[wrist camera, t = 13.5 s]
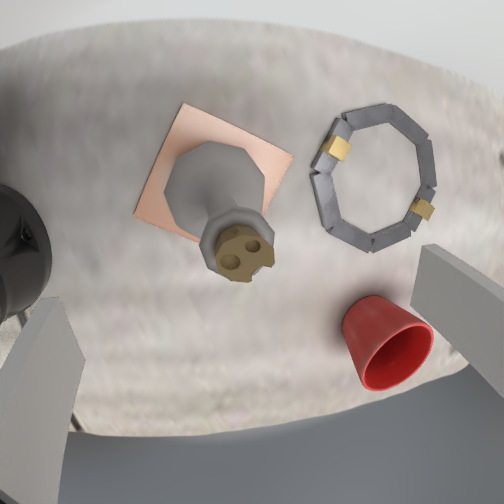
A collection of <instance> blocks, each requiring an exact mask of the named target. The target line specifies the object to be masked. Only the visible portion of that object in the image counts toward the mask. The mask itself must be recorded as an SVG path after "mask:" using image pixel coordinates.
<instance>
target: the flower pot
mask: <svg viewBox="0 0 504 504" xmlns="http://www.w3.org/2000/svg"><path fill="white" fill-rule="evenodd" d="M342 331H343V334H344V337H345V340H346V343H347V346H348V349H349V352H350V354H351V357H352V360H353V363H354V365H355V368H356V370H357V373H358V375H359V378H360V380H361V383H362V385H363V386H364V387H365V388H366V389H368V390H370V391H383V390H387V389H390V388H392V387H395V386H397V385H399V384H400V383H402V382H404V381H405V380H406V379H408V378H409V377H410V376H412V375H413V374H414V373H415V372H416V371H417V370H418V369H419V368H420V367H421V365H422V364H423V363H424V361H425V360H426V358H427V356H428V355H429V353H430V351H431V348H432V345H433V339H434V335H433V331H432V329H431V327H430V326H429V325H428V324H426V323H425V322H424V321H422V320H421V319H419V318H417V317H416V316H414V315H412V314H411V313H409V312H407V311H406V310H404V309H402V308H401V307H399V306H397V305H395V304H393V303H392V302H390V301H388V300H386V299H384V298H382V297H380V296H368V297H365V298H363V299H361V300H359V301H358V302H356V303H355V304H354V305H353V306H352V307H351V308H350V309H349V310H348V312H347V313H346V315H345V317H344V321H343V324H342Z"/></svg>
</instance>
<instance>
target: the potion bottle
mask: <svg viewBox="0 0 504 504" xmlns="http://www.w3.org/2000/svg"><path fill="white" fill-rule="evenodd" d="M264 187H265V176H264V174H263V173H262V172H261V170H260V169H259V167H258V166H257V165H256V163H255V162H254V161H253V159H252V158H251V157H250V155H249V154H248V153H247V151H246V150H245V149H244V148H241V147H236V146H231V145H227V144H222V143H217V142H212V141H208V142H206V143H204V144H202V145H200V146H198V147H196V148H194V149H193V150H191V151H189V152H187V153H185V154H184V155H182V156H180V157H178V158H176V160H175V163H174V166H173V168H172V171H171V173H170V176H169V179H168V181H167V184H166V187H165V190H164V195H165V198H166V200H167V203H168V206H169V208H170V211H171V214H172V216H173V219H174V221H175V224H176V225H177V226H178V227H179V228H180V229H182V230H184V231H186V232H188V233H189V234H191V235H193V236H195V237H197V238H199V239H201V240H200V244H199V247H200V250H201V252H202V255H203V257H204V260H205V262H206V265H207V268H208V269H210V270H212V271H214V272H216V273H218V274H220V275H222V276H224V277H226V278H227V279H229V280H230V281H237V282H247V283H248V282H251V281H252V279H251V278H252V275H255V274H256V273H257V272H258V271H259V270H260V269H261V268H262V267H263V266H266V267H272V266H273V265H274V263H275V260H274V248H273V244H274V234H275V232H274V231H273V230H272V228H271V227H270V226H269V225H268V223H267V222H266V221H265V219H264V218H263V217H262V212H263V200H264Z"/></svg>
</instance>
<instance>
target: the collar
mask: <svg viewBox="0 0 504 504" xmlns="http://www.w3.org/2000/svg"><path fill="white" fill-rule="evenodd" d="M342 118H343V119H342ZM342 118H336V120H335V122H334V123H333V125H332V127H331V129H330V131H329V133H328V135H327V137H326V139H325V141H324V143H323V145H322V146H321V148H320V150H319V152H318V154H317V156H316V158H315V160H314V162H313V164H312V166H311V168H313V169H314V170H316V171H318V172H316V173H313V174H310V177H311V181H312V185H313V189H314V193H315V197H316V201H317V205H318V209H319V213H320V217H321V222H322V226H323V227H324V228H325V229H327V230H326V231H327V232H328V233H329V234H331V235H333V236H335V237H337V238H339V239H341V240H343V241H345V242H347V243H349V244H351V245H353V246H355V247H356V248H358V249H360V250H362V251H364V252H366V253H368V252H369V251H371V252H372V253H375V252H377V251H379V250H381V249H384V248H386V247H388V246H390V245H393V244H395V243H397V242H399V241H401V240H404V239H406V238H408V237H410V236H411V230H412V231H414V232H415V231H416V229H417V227H418V226H419V224H420V222H421V220H422V219H424V220H426V221H428V220H429V219H430V217H431V215H432V213H433V211H434V209H435V208H434V207H433V206H432V205H431V204H430V203H431V201H432V199H433V196H434V194H435V192H436V191H434V190H433V189H432V188H433V187H436V186H437V182H436V172H435V163H434V155H433V148H432V141H431V140H429V139H427V138H428V136H429V134H427V133H426V132H425V131H424V130H423V129H422V128H421V127H420V126H419V125H418V124H417V123H416V122H415V121H414V120H412V119H411V118H410V117H409V116H408V115H407V114H406V113H405V112H403V111H402V110H401V109H400V108H399V107H398V106H396V105H391V104H383V105H378V106H373V107H369V108H364V109H360V110H355V111H351V112H347V113H343V114H342ZM387 122H389V123H390V124H392V125H393V126H394V127H395V128H397V129H398V130H399V131H400V132H401V133H402V134H404V135H405V136H406V137H407V138H408V139H409V140H411V141H412V142H413V143H414V144H415V145H416V149H417V155H418V162H419V170H420V178H421V187H420V189H419V191H418V193H417V195H416V197H415V199H414V201H413V203H412V205H411V207H410V209H409V211H408V213H407V214H406V216H405V218H404V220H403V221H402V222H399V223H397V224H395V225H392V226H390V227H388V228H385V229H383V230H380V231H378V232H376V233H373V234H371V235H369V234H367V233H365V232H363V231H361V230H360V229H358V228H356V227H354V226H352V225H351V224H349V223H347V222H345V221H343V220H342V219H341V216H340V211H339V207H338V202H337V198H336V193H335V189H334V184H333V180H332V176H331V173H332V171H333V170H334V168H335V166H336V164H337V162H338V160H339V161H342V162H344V160H345V158H346V156H347V154H348V152H349V151H350V149H351V147H352V145H351V144H350V143H348V141H349V139H350V137H351V135H352V133H353V131H355V130H359V129H363V128H367V127H371V126H375V125H379V124H383V123H387Z"/></svg>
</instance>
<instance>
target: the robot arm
mask: <svg viewBox="0 0 504 504" xmlns="http://www.w3.org/2000/svg"><path fill="white" fill-rule="evenodd" d="M51 264H52V257H51V247H50V242H49V238H48V235H47V232H46V229H45V227H44V225H43V222H42V220H41V219H40V217H39V215H38V214H37V212H36V211H35V209H34V208H33V207H32V205H31V204H30V203H29V202H28V201H27V200H26V199H25V198H24V197H23V196H22V195H20V194H19V193H18V192H16V191H14V190H12V189H10V188H8V187H5V186H0V325H1V323H2V322H3V321H5V320H7V319H8V318H10V317H12V316H14V315H15V314H17V313H18V312H21V311H23V310H25V309H27V308H28V307H30V306H31V305H32V304H33V303H34V302H35V301H36V300H37V299H38V297H39V296H40V294H41V293H42V291H43V290H44V288H45V287H46V285H47V282H48V280H49V277H50V272H51ZM410 306H411V307H412V308H413V309H414V310H416V311H417V312H418V313H419V314H420V315H421V316H422V317H423V318H424V319H425V320H426V321H427V322H428V323H429V324H431V325H432V326H433V327H434V328H435V329H436V330H437V331H438V332H439V333H440V334H441V335H442V336H443V337H444V338H445V339H446V340H447V341H448V342H449V343H450V344H451V345H452V346H453V347H454V348H455V349H456V350H457V351H458V352H459V353H460V354H461V355H462V356H463V357H464V358H465V359H466V360H467V361H468V362H469V363H470V364H471V365H472V366H473V367H474V368H475V369H476V370H477V371H478V372H479V373H480V374H481V375H482V376H483V377H484V378H485V379H486V380H487V381H488V382H489V383H490V384H491V386H493V388H494V389H495V390H496V391H497V392H498V393H499V394H500V395H501V396H502V397H503V398H504V288H503V287H501V286H500V285H498V284H497V283H496V282H494V281H493V280H491V279H490V278H488V277H487V276H485V275H484V274H482V273H481V272H479V271H478V270H476V269H475V268H473V267H472V266H470V265H469V264H467V263H466V262H464V261H462V260H461V259H459V258H458V257H456V256H454V255H453V254H451V253H450V252H448V251H446V250H445V249H443V248H442V247H440V246H438V245H437V244H429V245H424V246H422V248H421V254H420V260H419V265H418V270H417V275H416V280H415V285H414V289H413V294H412V298H411V303H410ZM84 364H85V358H84V356H83V354H82V352H81V349H80V347H79V345H78V343H77V340H76V338H75V336H74V333H73V331H72V328H71V326H70V324H69V321H68V319H67V316H66V313H65V311H64V308H63V306H62V303H61V300H60V297H53V298H44V299H41V300H40V301H39V303H38V304H37V306H36V307H35V309H34V311H33V312H32V314H31V316H30V317H29V319H28V321H27V322H26V324H25V326H24V327H23V329H22V331H21V333H20V334H19V336H18V338H17V340H16V341H15V343H14V345H13V347H12V349H11V351H10V353H9V354H8V356H7V358H6V360H5V362H4V364H3V366H2V368H1V370H0V504H57V500H58V491H59V482H60V476H61V469H62V463H63V456H64V450H65V444H66V440H67V435H68V430H69V425H70V420H71V415H72V411H73V407H74V402H75V398H76V394H77V390H78V386H79V382H80V379H81V375H82V371H83V368H84Z"/></svg>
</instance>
